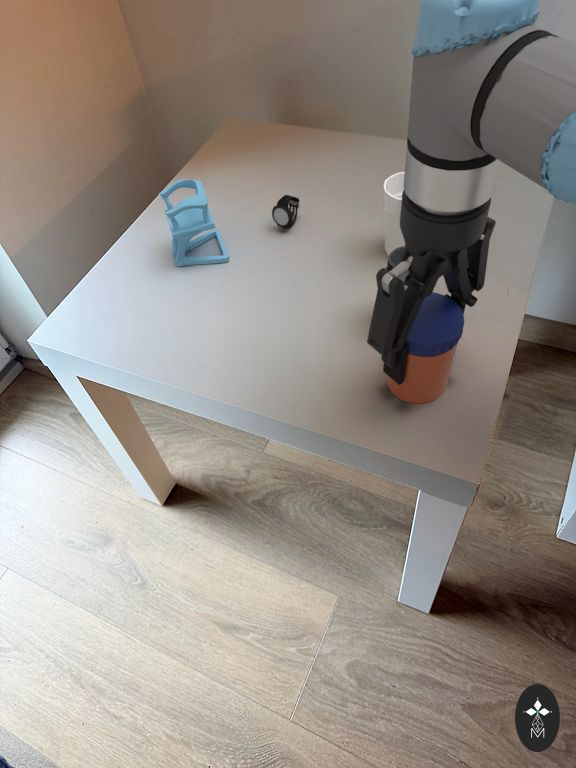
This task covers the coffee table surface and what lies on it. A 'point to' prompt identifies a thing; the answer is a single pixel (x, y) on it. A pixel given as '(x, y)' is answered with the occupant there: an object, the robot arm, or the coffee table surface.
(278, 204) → the smartwatch
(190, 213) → the chair
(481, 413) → the coffee table surface
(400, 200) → the cup
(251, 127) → the coffee table surface
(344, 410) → the coffee table surface
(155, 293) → the coffee table surface
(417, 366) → the jar
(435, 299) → the jar lid
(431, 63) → the robot arm
